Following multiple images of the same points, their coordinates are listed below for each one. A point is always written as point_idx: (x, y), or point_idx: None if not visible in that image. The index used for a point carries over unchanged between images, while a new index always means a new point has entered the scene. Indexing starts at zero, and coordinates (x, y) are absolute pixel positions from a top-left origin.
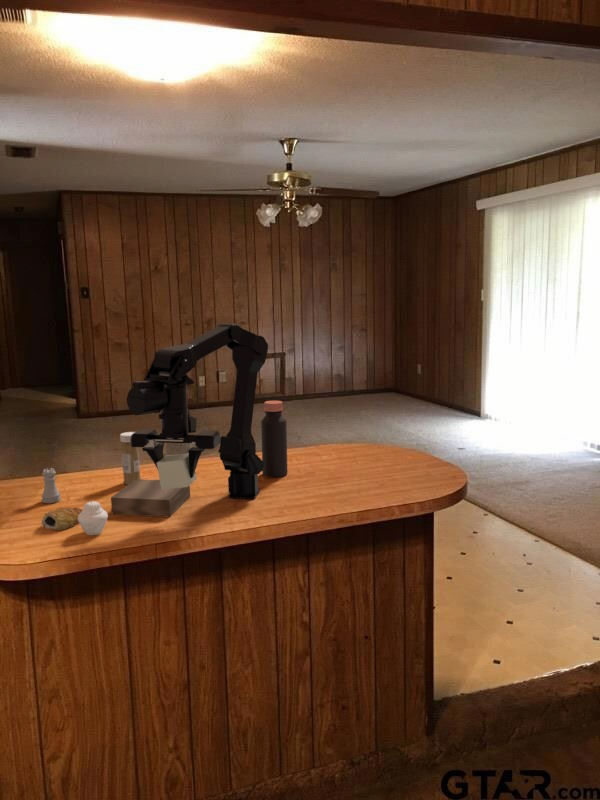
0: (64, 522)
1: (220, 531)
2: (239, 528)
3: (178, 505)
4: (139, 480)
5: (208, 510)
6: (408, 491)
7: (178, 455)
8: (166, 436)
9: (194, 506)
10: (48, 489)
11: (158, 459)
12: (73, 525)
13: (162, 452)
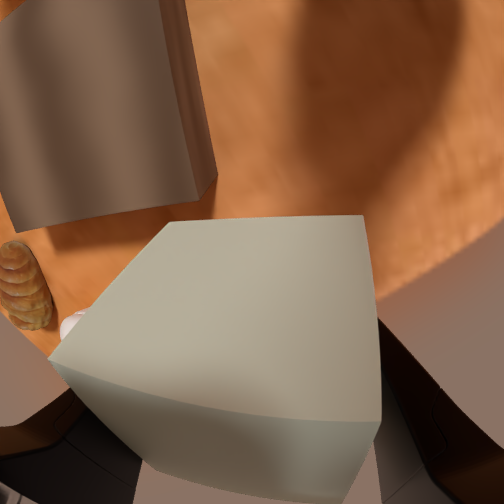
0: (45, 318)
1: (436, 258)
2: (482, 228)
3: (195, 80)
4: None
5: (338, 68)
6: None
7: (204, 436)
8: None
9: (253, 36)
10: None
11: (135, 466)
12: (49, 293)
13: (69, 449)
